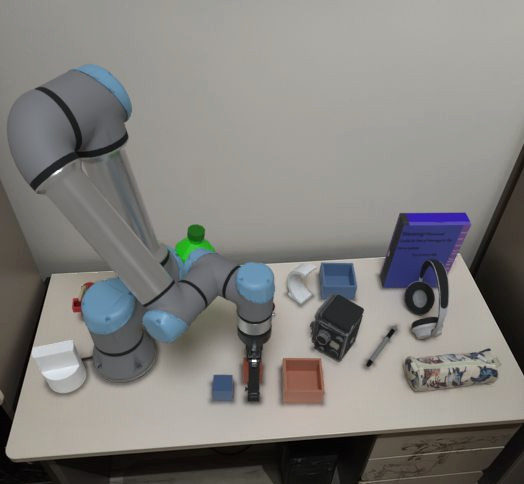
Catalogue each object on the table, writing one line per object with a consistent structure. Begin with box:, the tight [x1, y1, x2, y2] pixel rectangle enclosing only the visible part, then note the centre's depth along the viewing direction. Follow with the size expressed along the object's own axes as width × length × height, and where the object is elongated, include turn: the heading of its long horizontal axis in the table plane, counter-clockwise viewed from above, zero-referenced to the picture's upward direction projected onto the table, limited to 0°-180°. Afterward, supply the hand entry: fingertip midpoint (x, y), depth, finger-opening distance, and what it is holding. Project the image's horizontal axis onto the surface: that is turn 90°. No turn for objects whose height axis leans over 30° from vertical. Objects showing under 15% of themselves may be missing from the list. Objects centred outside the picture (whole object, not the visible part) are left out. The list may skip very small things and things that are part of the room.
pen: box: [365, 324, 398, 368], centre depth 127 cm, size 1×16×1 cm, turn 143°
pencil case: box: [403, 347, 503, 392], centre depth 118 cm, size 22×8×10 cm, turn 97°
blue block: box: [211, 374, 234, 402], centre depth 116 cm, size 4×4×4 cm
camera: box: [309, 294, 365, 362], centre depth 122 cm, size 10×10×15 cm
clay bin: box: [281, 357, 326, 404], centre depth 117 cm, size 9×9×5 cm
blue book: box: [379, 212, 472, 289], centre depth 134 cm, size 17×5×24 cm, turn 93°
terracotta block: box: [242, 356, 263, 384], centre depth 119 cm, size 4×4×4 cm
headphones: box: [404, 259, 450, 340], centre depth 126 cm, size 19×8×20 cm, turn 0°
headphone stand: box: [286, 262, 318, 305], centre depth 134 cm, size 5×6×12 cm
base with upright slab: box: [31, 339, 88, 394], centre depth 114 cm, size 9×9×12 cm
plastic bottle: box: [174, 223, 216, 263], centre depth 126 cm, size 10×10×25 cm
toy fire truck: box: [71, 281, 96, 317], centre depth 129 cm, size 3×14×10 cm, turn 6°
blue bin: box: [318, 262, 358, 301], centre depth 138 cm, size 9×9×5 cm
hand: (253, 375), depth 121 cm, fingers open, 13 cm apart
